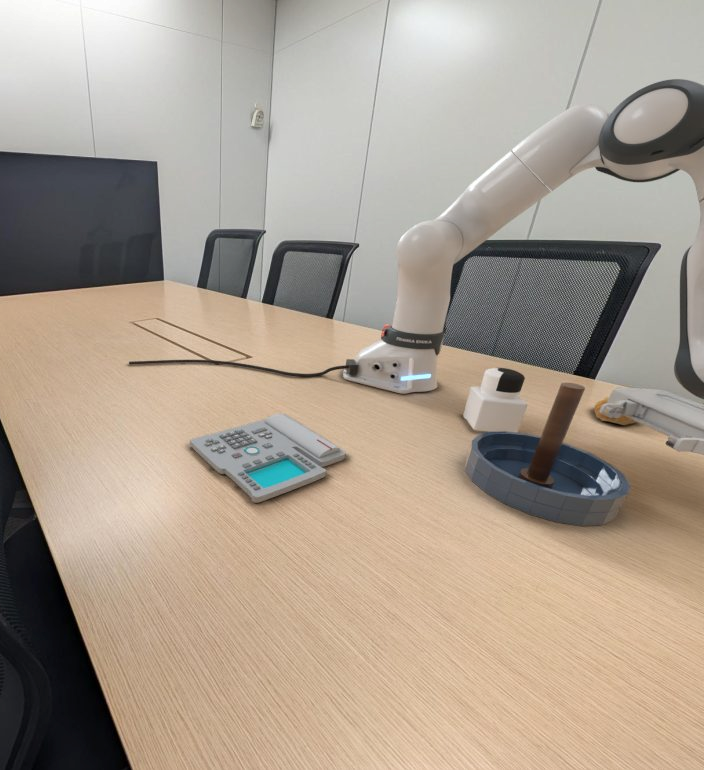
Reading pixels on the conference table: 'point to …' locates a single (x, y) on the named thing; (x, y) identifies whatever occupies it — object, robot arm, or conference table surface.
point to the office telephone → (268, 455)
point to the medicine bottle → (496, 402)
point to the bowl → (570, 472)
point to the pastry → (622, 420)
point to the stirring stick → (553, 435)
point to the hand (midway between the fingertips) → (636, 425)
